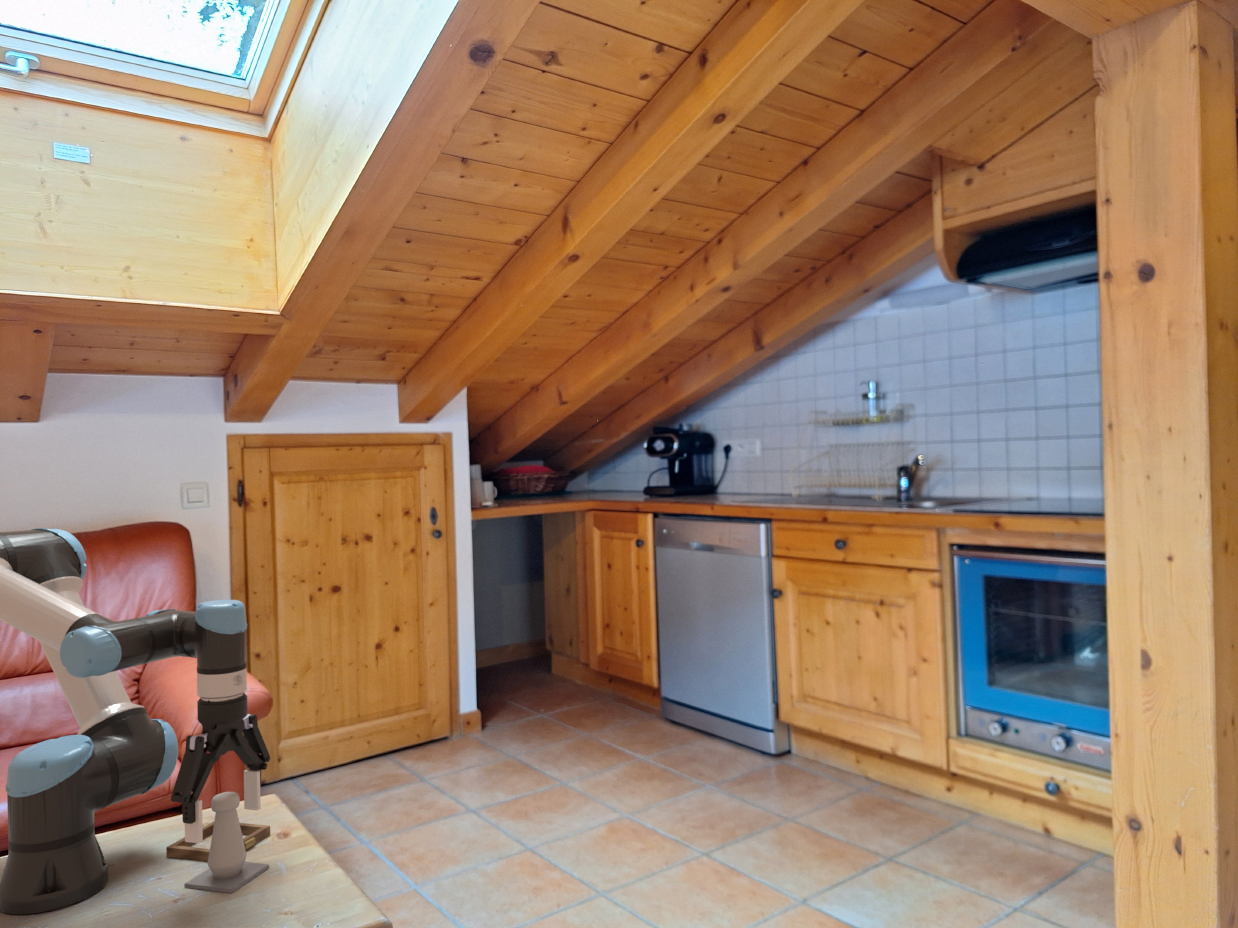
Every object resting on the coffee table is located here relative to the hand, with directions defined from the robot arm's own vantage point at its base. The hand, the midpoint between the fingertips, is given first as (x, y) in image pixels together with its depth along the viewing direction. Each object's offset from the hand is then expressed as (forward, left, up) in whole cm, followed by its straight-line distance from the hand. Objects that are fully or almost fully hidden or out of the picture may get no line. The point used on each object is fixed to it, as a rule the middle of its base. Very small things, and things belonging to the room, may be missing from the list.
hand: (224, 824), depth 145 cm
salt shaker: (0, 0, -8) cm, 8 cm away
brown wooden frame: (-10, +10, -9) cm, 17 cm away
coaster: (0, 0, -9) cm, 9 cm away
